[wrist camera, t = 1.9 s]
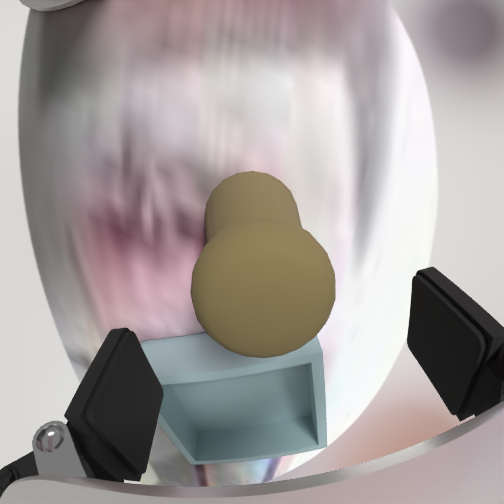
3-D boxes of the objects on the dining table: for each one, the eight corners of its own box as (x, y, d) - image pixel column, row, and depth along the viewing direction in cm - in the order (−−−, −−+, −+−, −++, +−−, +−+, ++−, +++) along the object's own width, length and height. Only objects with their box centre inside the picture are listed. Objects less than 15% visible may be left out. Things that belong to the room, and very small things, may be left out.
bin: (142, 341, 23) (128, 379, 19) (308, 313, 22) (322, 351, 18) (193, 431, 28) (190, 464, 24) (318, 413, 28) (327, 447, 24)
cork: (259, 276, 21) (278, 401, 11) (186, 227, 19) (139, 331, 9) (316, 209, 19) (393, 294, 9) (242, 151, 18) (249, 178, 8)
